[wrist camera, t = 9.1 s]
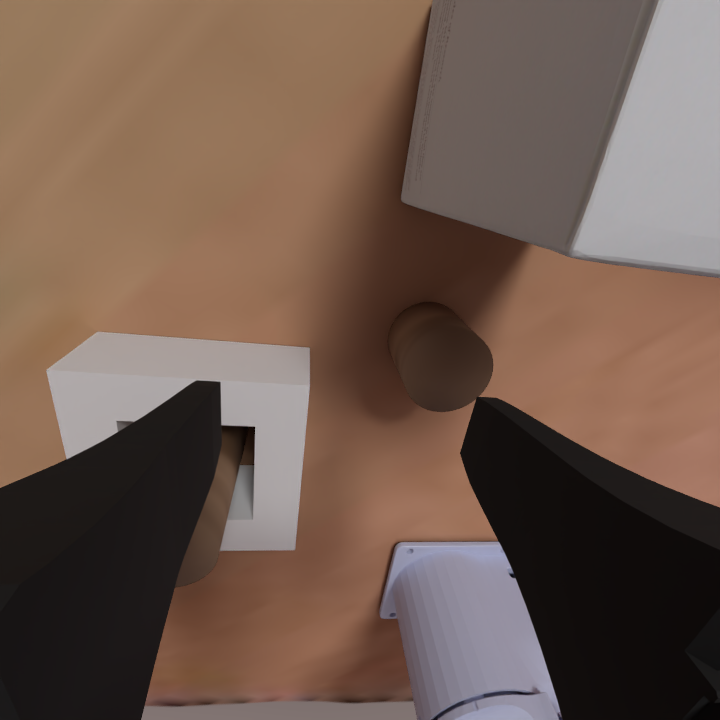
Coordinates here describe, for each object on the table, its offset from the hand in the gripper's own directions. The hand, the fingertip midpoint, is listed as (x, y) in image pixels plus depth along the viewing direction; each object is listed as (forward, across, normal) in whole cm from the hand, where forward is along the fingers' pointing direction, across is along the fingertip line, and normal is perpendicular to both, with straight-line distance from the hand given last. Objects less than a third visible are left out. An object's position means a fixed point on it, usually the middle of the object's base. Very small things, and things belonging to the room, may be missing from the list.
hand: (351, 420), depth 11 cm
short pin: (+10, -5, +1) cm, 11 cm away
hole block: (+9, +6, +7) cm, 13 cm away
